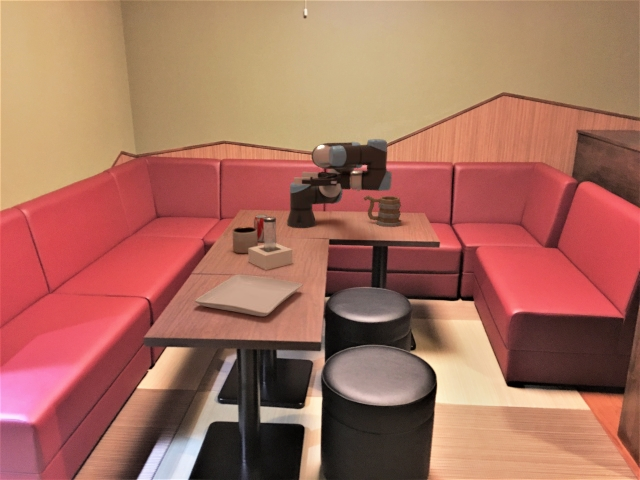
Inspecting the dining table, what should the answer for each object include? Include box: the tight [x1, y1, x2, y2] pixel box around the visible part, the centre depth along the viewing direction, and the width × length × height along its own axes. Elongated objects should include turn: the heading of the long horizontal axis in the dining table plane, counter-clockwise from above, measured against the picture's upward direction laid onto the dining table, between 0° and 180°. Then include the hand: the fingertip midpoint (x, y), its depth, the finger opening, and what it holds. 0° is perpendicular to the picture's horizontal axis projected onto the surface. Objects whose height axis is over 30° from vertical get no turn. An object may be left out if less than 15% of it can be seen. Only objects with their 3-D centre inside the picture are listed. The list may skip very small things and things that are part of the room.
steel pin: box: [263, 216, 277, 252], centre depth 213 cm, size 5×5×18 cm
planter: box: [232, 226, 259, 255], centre depth 230 cm, size 11×11×10 cm
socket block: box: [247, 242, 294, 271], centre depth 214 cm, size 13×13×6 cm
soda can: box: [253, 214, 268, 243], centre depth 245 cm, size 7×7×12 cm
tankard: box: [363, 195, 402, 228], centre depth 277 cm, size 20×13×15 cm, turn 78°
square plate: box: [194, 273, 303, 317], centre depth 177 cm, size 27×27×4 cm
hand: (298, 178), depth 207 cm, fingers open, 13 cm apart
